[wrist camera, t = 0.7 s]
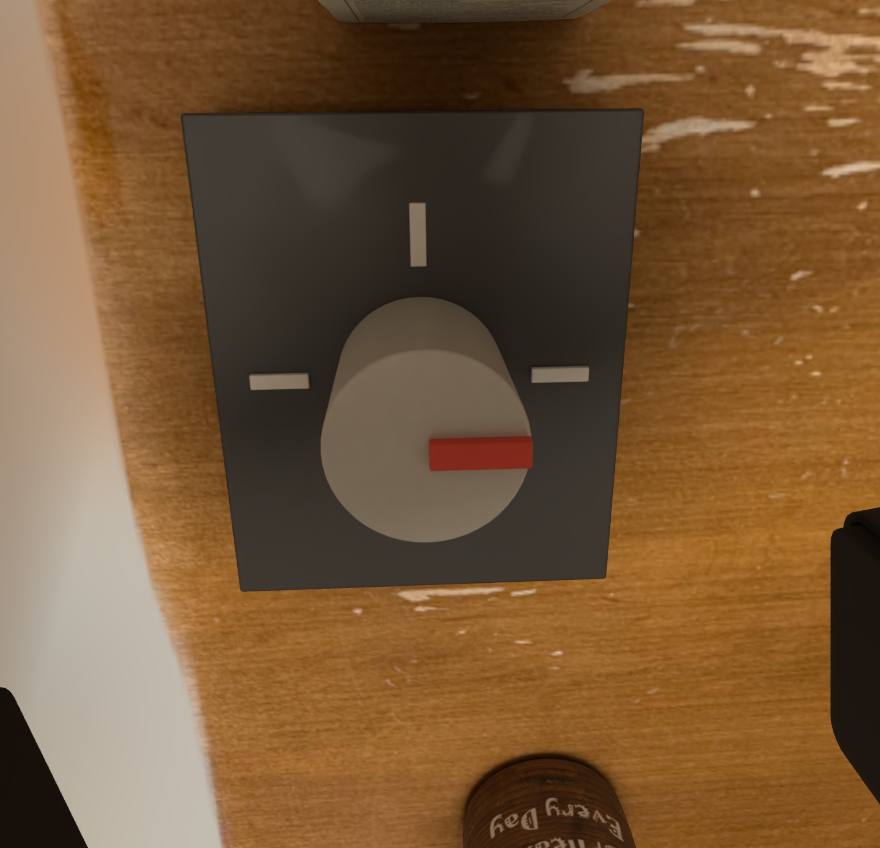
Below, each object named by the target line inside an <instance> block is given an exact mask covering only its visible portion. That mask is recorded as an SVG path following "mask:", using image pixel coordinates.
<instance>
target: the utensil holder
mask: <svg viewBox="0 0 880 848" xmlns="http://www.w3.org/2000/svg"><path fill="white" fill-rule="evenodd" d="M463 848H636V846H635V843H634V840H633V837H632V834H631V831H630V828H629V825H628V822H627V819H626V817H625V814H624V812H623V809H622V807H621V804H620V802H619V800H618V798H617V796H616V794H615V793H614V791H613V790H612V788H611V787H610V786H609V784H608V783H607V782H606V781H605V780H604V779H603V778H602V777H601V776H600V775H598V774H597V773H596V772H594V771H593V770H591V769H589V768H587V767H585V766H583V765H581V764H578V763H575V762H571V761H567V760H561V759H535V760H529V761H525V762H521V763H517V764H515V765H512V766H510V767H507V768H505V769H503V770H501V771H499V772H498V773H496V774H495V775H493V776H492V777H490V778H489V779H488V780H487V781H486V782H485V783H483V784H482V785H481V787H480V788H479V789H478V790H477V791H476V793H475V794H474V796H473V797H472V799H471V801H470V803H469V805H468V808H467V811H466V814H465V819H464V828H463Z"/></svg>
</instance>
